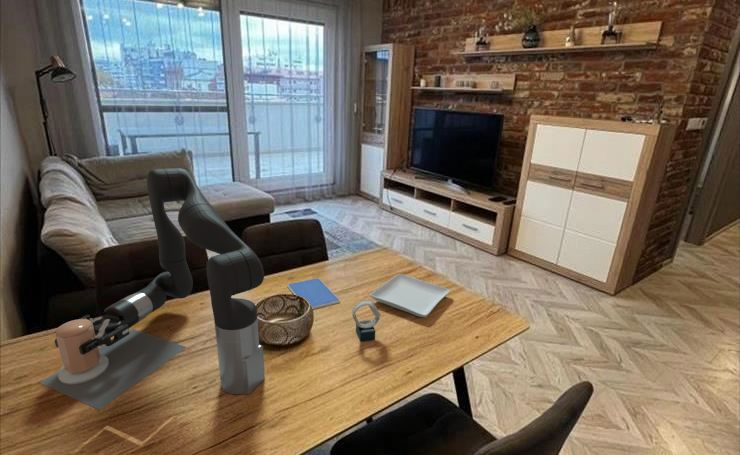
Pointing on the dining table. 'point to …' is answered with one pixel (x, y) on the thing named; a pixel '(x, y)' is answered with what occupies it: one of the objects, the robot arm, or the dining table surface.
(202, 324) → the dining table surface
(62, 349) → the domed octagonal post
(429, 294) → the salad plate
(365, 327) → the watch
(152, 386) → the dining table surface
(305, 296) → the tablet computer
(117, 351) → the rubber mat
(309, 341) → the dining table surface
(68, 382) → the saucer
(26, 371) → the dining table surface
